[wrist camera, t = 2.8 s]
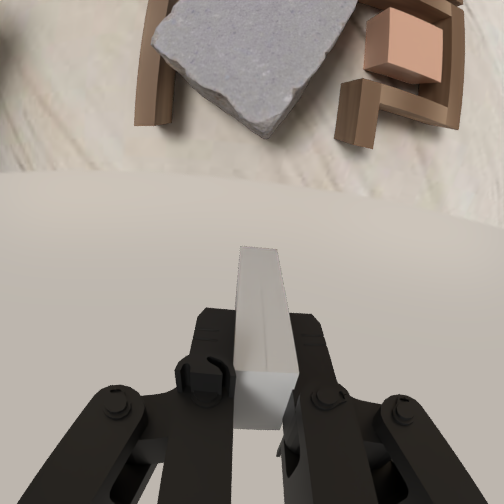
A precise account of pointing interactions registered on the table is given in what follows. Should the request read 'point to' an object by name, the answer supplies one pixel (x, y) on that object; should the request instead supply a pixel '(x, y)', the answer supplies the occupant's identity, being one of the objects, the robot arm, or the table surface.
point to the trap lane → (351, 93)
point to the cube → (403, 47)
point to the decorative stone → (251, 52)
